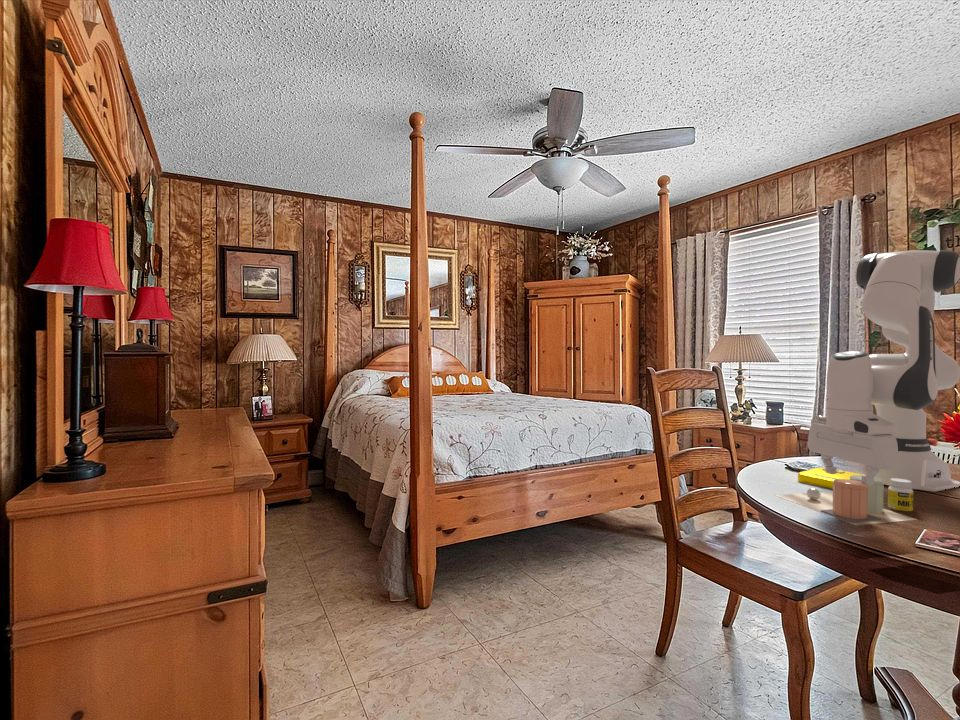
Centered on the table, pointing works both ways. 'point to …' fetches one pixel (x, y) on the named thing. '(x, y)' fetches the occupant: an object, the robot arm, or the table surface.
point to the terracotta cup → (850, 499)
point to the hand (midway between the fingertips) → (848, 478)
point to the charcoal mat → (869, 518)
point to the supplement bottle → (900, 495)
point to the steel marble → (813, 494)
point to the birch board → (827, 503)
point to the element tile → (823, 477)
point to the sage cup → (873, 494)
